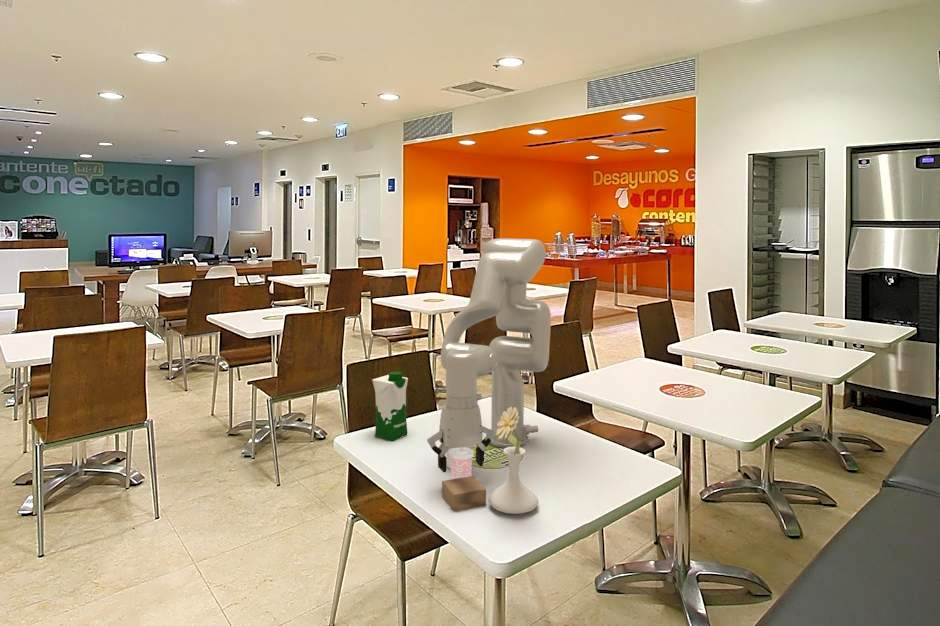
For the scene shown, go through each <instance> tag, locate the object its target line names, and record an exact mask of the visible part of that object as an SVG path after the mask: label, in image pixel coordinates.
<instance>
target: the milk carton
mask: <svg viewBox="0 0 940 626" xmlns="http://www.w3.org/2000/svg"><path fill="white" fill-rule="evenodd" d="M408 381H409V378H408V377H405V376H403V372H402V371H397V370H395V371H389V372H388V374H387V375H383V376H380V377H377V378H373V379H372V385H373V387H374V393H375V431H374V437H375V438H380V439H383V440H386V441H389V440H390V441H389V442H394V441H397V440H399V439H400V437H401V438H403V437H405V435H406V436H408V435H407V434H409V433H408V423H407V387H408ZM402 436H403V437H402ZM398 438H399V439H398Z"/></svg>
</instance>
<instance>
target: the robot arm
mask: <svg viewBox="0 0 940 626" xmlns="http://www.w3.org/2000/svg"><path fill="white" fill-rule="evenodd" d="M546 252H547V251H546V247H545V245H544V243H543V242H542V241H541V240H539V239H536V238H535V239H534V238H510V237H509V238H507V237H506V238H505V237H503V238H502V237H501V238H500V237H499V238H493V239H490V240H488V241H486V243H485V244H484V254H482V255H481V256H480V258H479V259H478V261H477V262H478V263H477V267H476V272H475V275H474V280H473V285H472V290H471V294H470V299H469V302H468V304H467V305H466V306H465V307H464V308H463V309H461V310H460V311H459V312H458V313H457V314H456V315H455V316H454V317H453V319H452V320H451V322H449V324H448V326H447V328H446V330H445V333H444V335H443V341H442V345H441V349H440V364H441V367H443V369H445V404H444V405H443V406H442V408H441V412H440V413H441V414H440V420H439V431H438V432H436V433H434V434H433V435H432V436H430V437H429V438H427V440H426V441H427V443H428V445H429V447H430V449H431V450H432V451H433V452H434V453H436V455H437V467H438V469H440V470H441V472H442V473H447V471H448V470H447V468H448V467H447V461H446V453H447V451H448V450H449V449H453V448H460V447H467V446H473V447H474V446H477V447H475V463H476V464H477V465H478V466H479V467H483V466H484V462H485V451H487V447H489V445H491V446H494V447H498V448H504V449H505V448H507V447H515V446H514V445H512V444H511V443H510V442H509V440H508V438H506V439H505V440H504V439H502V440H501V439H498V437H499V435H496V433H497V429H498V428H499V426H497V424H498V422H500V420H501V416H503V415H502V414H503V412H504V411H505V412H507V409H508V408H510V407H512V410H513V409H514V408H515V407H516V409H517V412H518V416H519V419H518V423H517V425H516V429H515V431H516V433H517V436H518V442H520V447H523V446H525V445H527V444H528V443H529V436H528V435H530V434H531V433H532V434H533V433H538V432H539V427H538V425H531V424H524V422H525V421H524V420H525V419H524V417H525V416H524V413H525V412H524V411H525V382H524V379H523V378H522V375H521V374H520V372H519V371H523V372H534V373H539V372H544V371H545V370H546V368H547V367H548V364H549V359H550V348H551V347H550V343H551V342H550V341H551V329H552V328H551V327H552V326H551V325H552V315H551V310H550V307H549V305H548V304H547V303H546V302H544V301H541V300H535V299H534V300H531V299H527V284H529V282H531V281H532V280H533V279H534V277H535V275H536V274H537V273H538V272H539V271H540V270H541V269H542V268H543V265H544V262H545V259H546ZM493 317H495V323H496V326H497V328H498V329H499V330H502V331H504V332H511V333H521V334H522V333H523V334H530V335H531V337H521V336H513V335H512V336H509V335H500V336H498V337H497V336H496V337H495V338H493V339H492V340H491V342H490V343H489V345H486V344H485V345H484V344H474V343H465V342H464V343H463V342H460V340H461V338H462V336H463V334H464V332H465V331H466V330H468V329H469V328H470V327H472V326H473V325H476V324H478V323H480V322H482V321H486V320H487V319H490V318H493ZM489 374H491V422H490V423H491V424H490V425H491V428H489V427H485V426H483V422H482V414H481V408H480V406H479V404H478V401H480V400H482V399H483V396H482V394H481V393H480V394H479V393H478V389H477V388H478V385H477V384H478V377H483V376H484V377H485V376H488V375H489ZM483 433H484V434H486V435H485V437H484V438H483ZM512 434H513V436H514V437H515V438H516V435H515V432H514V430H513V433H512ZM516 439H517V438H516ZM437 441H439V443H440V445H439V446H437V445H436V442H437Z"/></svg>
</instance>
